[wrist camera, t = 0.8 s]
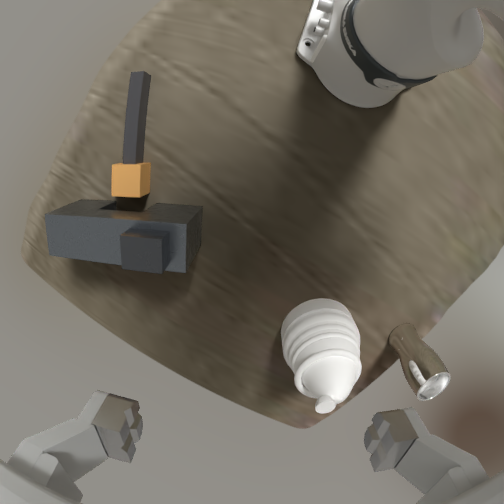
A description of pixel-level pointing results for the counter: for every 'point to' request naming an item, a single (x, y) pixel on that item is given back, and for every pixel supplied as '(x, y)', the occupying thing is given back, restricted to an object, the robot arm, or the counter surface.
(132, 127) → the plug
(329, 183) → the counter surface
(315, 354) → the honey pot
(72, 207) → the grey block
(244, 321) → the counter surface
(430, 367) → the beer glass
